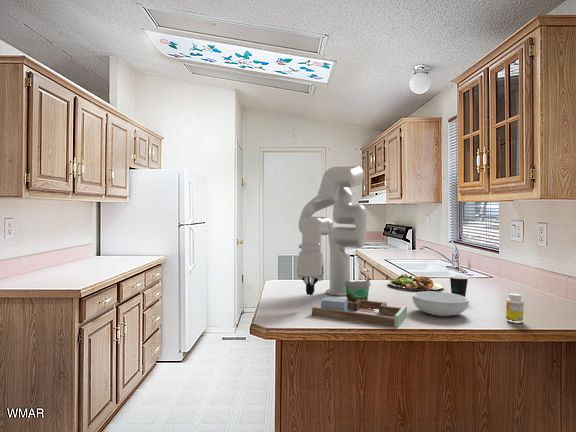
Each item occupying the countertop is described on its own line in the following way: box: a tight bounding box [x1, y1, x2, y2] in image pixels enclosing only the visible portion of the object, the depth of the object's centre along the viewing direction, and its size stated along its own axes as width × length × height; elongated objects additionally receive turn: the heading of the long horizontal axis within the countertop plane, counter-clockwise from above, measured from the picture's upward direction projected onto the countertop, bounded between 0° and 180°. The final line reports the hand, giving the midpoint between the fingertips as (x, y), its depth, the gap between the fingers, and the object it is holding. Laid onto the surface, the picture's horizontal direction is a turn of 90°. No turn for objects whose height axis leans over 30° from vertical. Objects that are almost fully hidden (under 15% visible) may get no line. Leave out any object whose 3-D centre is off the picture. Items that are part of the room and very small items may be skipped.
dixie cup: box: [448, 274, 469, 297], centre depth 190 cm, size 8×8×11 cm
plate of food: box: [387, 273, 445, 291], centre depth 223 cm, size 28×28×6 cm
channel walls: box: [311, 300, 402, 328], centre depth 165 cm, size 22×31×3 cm
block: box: [320, 296, 348, 311], centre depth 167 cm, size 7×9×6 cm
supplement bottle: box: [505, 293, 525, 321], centre depth 157 cm, size 6×6×10 cm
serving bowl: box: [412, 290, 470, 317], centre depth 168 cm, size 21×21×7 cm
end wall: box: [394, 305, 408, 328], centre depth 156 cm, size 16×1×4 cm, turn 154°
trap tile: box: [357, 308, 375, 313], centre depth 171 cm, size 5×8×1 cm, turn 64°
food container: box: [344, 278, 372, 303], centre depth 182 cm, size 12×6×10 cm, turn 117°
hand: (310, 294), depth 170 cm, fingers closed
